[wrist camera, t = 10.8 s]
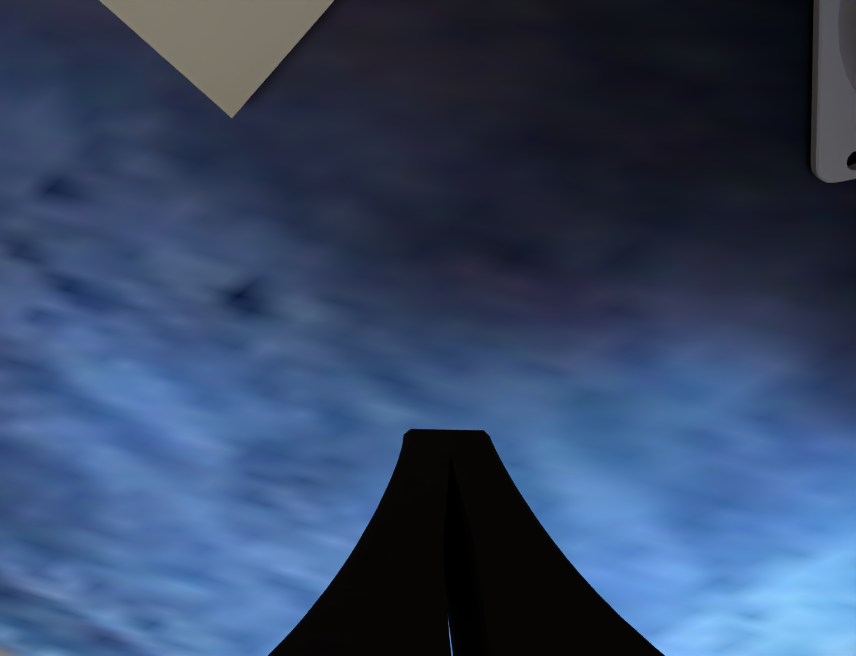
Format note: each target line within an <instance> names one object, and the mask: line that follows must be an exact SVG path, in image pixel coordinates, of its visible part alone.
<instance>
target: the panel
mask: <svg viewBox="0 0 856 656" xmlns="http://www.w3.org/2000/svg"><path fill="white" fill-rule="evenodd" d="M100 1H101V2H102V3H103V4H104V5H105V6H106V7H107V8H109V9H110V10H111V11H112V12H113V13H114V14H115V15H116V16H118V17H119V18H120V19H121V20H122V21H123V22H124V23H125V24H127V25H128V26H129V27H130V28H131V29H132V30H133V31H134V32H136V33H137V34H138V35H139V36H140V37H141V38H142V39H143V40H145V41H146V42H147V43H148V44H149V45H150V46H151V47H152V48H154V49H155V50H156V51H157V52H158V53H159V54H160V55H161V56H163V57H164V58H165V59H166V60H167V61H168V62H169V63H170V64H172V65H173V66H174V67H175V68H176V69H177V70H178V71H179V72H181V73H182V74H183V75H184V76H185V77H186V78H187V79H188V80H190V81H191V82H192V83H193V84H194V85H195V86H196V87H197V88H199V89H200V90H201V91H202V92H203V93H204V94H205V95H206V96H208V97H209V98H210V99H211V100H212V101H213V102H214V103H215V104H217V105H218V106H219V107H220V108H221V109H222V110H223V111H224V112H226V113H227V114H228V115H229V116H230V117H231V118H233V116H234V115H235V114H236V113H237V112H238V111H239V109H240V108H241V107H242V106H243V105H244V104H245V103H246V101H247V100H248V99H249V98H250V97H251V96H252V94H253V93H254V92H255V91H256V90H257V89H258V88H259V86H260V85H261V84H262V83H263V82H264V81H265V80H266V78H267V77H268V76H269V75H270V74H271V73H272V71H273V70H274V69H275V68H276V67H277V66H278V65H279V63H280V62H281V61H282V60H283V59H284V58H285V57H286V55H287V54H288V53H289V52H290V51H291V50H292V48H293V47H294V46H295V45H296V44H297V43H298V42H299V40H300V39H301V38H302V37H303V36H304V35H305V33H306V32H307V31H308V30H309V29H310V28H311V27H312V25H313V24H314V23H315V22H316V21H317V20H318V19H319V17H320V16H321V15H322V14H323V13H324V12H325V10H326V9H327V8H328V7H329V6H330V5H331V4H332V2H333V1H334V0H100Z"/></svg>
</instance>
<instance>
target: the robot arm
mask: <svg viewBox="0 0 856 656" xmlns="http://www.w3.org/2000/svg"><path fill="white" fill-rule="evenodd" d="M855 151H856V0H814V12H813V66H812V119H811V169H812V172H813V173H814V174H815V176H816V177H818V178H819V179H821V180H822V181H825V182H827V183H836V182H841V181H846V180H851V179H856V163H855V164H852V165H850V166H847V163H846V162H847V159H848V157H849V156H850V155H851V153H852V152H855ZM448 621H449V625H448ZM449 628H450V636H451V644H452V651H453V656H665V655H664V654H662V653H661V652H660V651H659V650H658V649H656V648H655V647H654V646H653V645H652V644H651V643H650V642H649V641H647V640H646V639H645V638H644V637H643V636H642V635H641V634H640V633H638V632H637V631H636V630H635V629H634V628H633V627H632V626H631V625H630V624H628V623H627V622H626V621H625V620H624V619H623V618H622V617H621V616H620V615H618V613H617V612H616V611H615V610H614V609H613V608H612V607H611V606H610V605H609V604H608V603H607V602H606V601H605V600H604V599H603V598H602V597H601V596H600V595H599V594H598V593H597V592H596V591H595V590H594V589H593V588H592V587H591V585H590V584H589V583H588V582H587V581H586V580H585V579H584V578H583V577H582V576H581V574H580V573H579V572H578V571H577V570H576V569H575V567H574V566H573V565H572V564H571V563H570V561H569V560H568V559H567V558H566V557H565V555H564V554H563V553H562V552H561V550H560V549H559V548H558V546H557V545H556V544H555V542H554V541H553V540H552V539H551V537H550V536H549V535H548V533H547V532H546V531H545V529H544V528H543V526H542V525H541V524H540V522H539V521H538V519H537V518H536V516H535V515H534V513H533V512H532V510H531V509H530V507H529V506H528V504H527V503H526V501H525V500H524V498H523V497H522V495H521V494H520V492H519V491H518V489H517V487H516V486H515V484H514V482H513V481H512V479H511V477H510V476H509V474H508V472H507V470H506V469H505V467H504V465H503V463H502V461H501V459H500V457H499V455H498V453H497V452H496V449H495V447H494V445H493V443H492V441H491V438H490V436H489V435H488V434H487V433H486V432H485V431H484V430H435V429H410V430H409V431H408V432H406V433H405V434H404V437H403V444H402V448H401V452H400V455H399V459H398V462H397V464H396V467H395V470H394V472H393V475H392V477H391V480H390V482H389V484H388V486H387V488H386V491H385V493H384V495H383V497H382V499H381V501H380V503H379V505H378V508H377V510H376V511H375V513H374V515H373V517H372V519H371V520H370V522H369V524H368V526H367V527H366V529H365V531H364V533H363V534H362V536H361V538H360V540H359V541H358V543H357V545H356V546H355V548H354V550H353V551H352V553H351V554H350V556H349V557H348V559H347V561H346V562H345V563H344V565H343V566H342V568H341V569H340V571H339V572H338V574H337V575H336V576H335V578H334V579H333V581H332V582H331V583H330V585H329V586H328V587H327V589H326V590H325V591H324V593H323V594H322V595H321V596H320V598H319V599H318V600H317V601H316V603H315V604H314V605H313V606H312V608H311V609H310V610H309V611H308V613H307V614H306V615H305V616H304V617H303V619H302V620H301V621H300V622H299V623H298V624H297V626H296V627H295V628H294V629H293V630H292V631H291V632H290V633H289V634H288V635H287V636H286V638H285V639H284V640H283V641H282V642H281V643H280V644H279V645H278V646H277V647H276V648H275V649H274V650H273V651H272V652H271V653H270V654H269V655H268V656H451V647H450V637H449Z"/></svg>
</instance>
